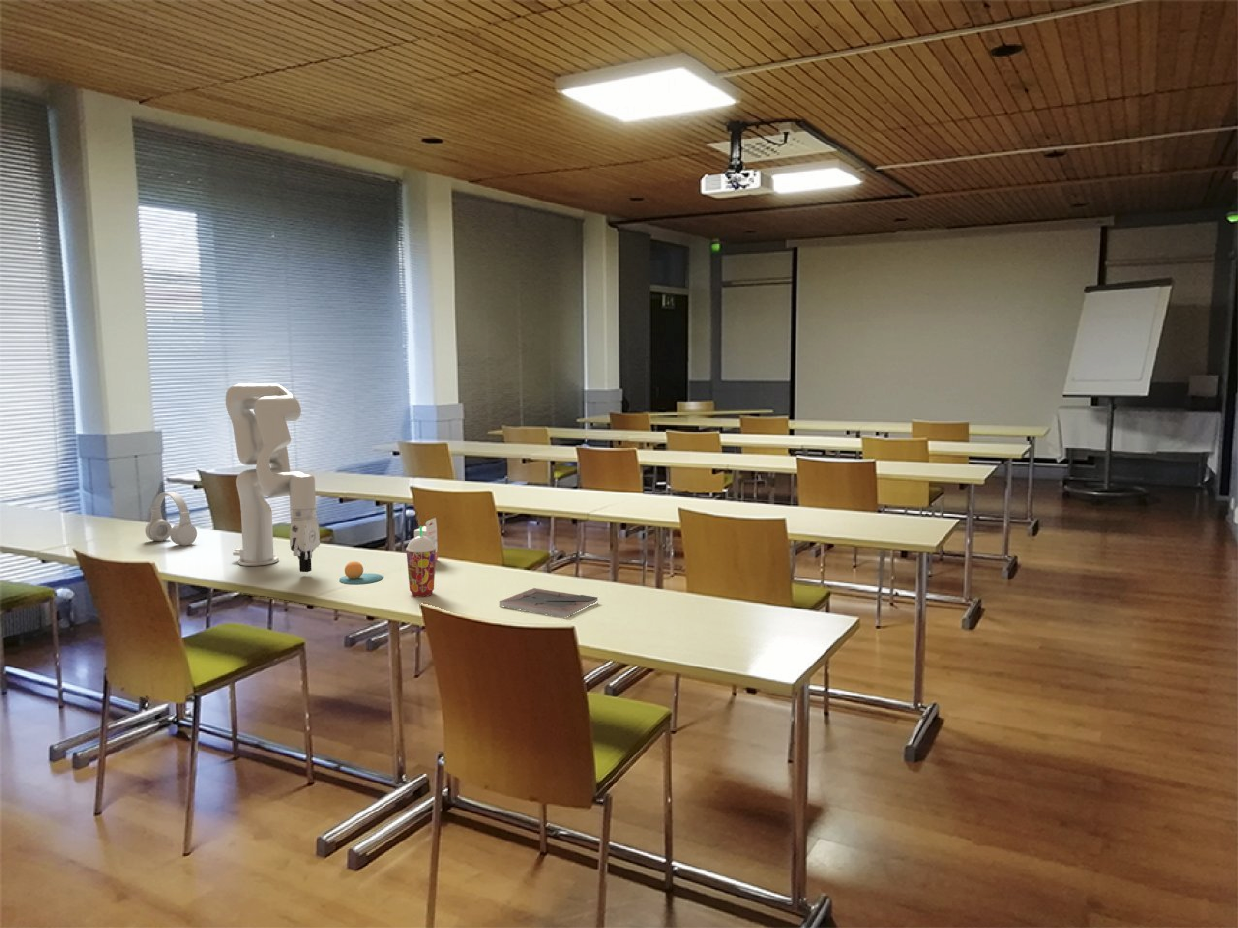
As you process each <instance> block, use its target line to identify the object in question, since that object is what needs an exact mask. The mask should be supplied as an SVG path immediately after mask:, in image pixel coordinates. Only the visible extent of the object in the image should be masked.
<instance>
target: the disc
mask: <svg viewBox="0 0 1238 928" xmlns="http://www.w3.org/2000/svg"><path fill="white" fill-rule="evenodd" d="M383 578H384V576H383V575H382V574H378V573H370V572H369V573H367V572H366V573H364V572H363V573H362V575H361V576H360V577H359V578H357V579H350V578H348V577H347V576H346V575H345V576H342V577H341V578H339V580H338V581H339V582H340V583H342V584H345V585H366V584H367V585H368V584H372V583H376V582H380V581H381V580H383Z"/></svg>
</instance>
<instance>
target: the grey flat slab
mask: <svg viewBox="0 0 1238 928" xmlns="http://www.w3.org/2000/svg"><path fill="white" fill-rule="evenodd" d="M596 601H598V596H596V597H595V596H590V595H586V594H585V595H584V594H575V593H568V592H567V593H566V592H560V591H553V590H547V589H542V588H535V587H533V588H531V589H528V590H526V591H523V592H520V593H517V594H515V595H513V596H510V597H507V598H504V599H502V600H499V607H500V606H504V607H509V608H508V609H510V608H515V609H521V610H526V611H525V612H527V611H531V612H530V613H533V612H535V613H534V614H539V613H540V615H545V614H547V615H546V616H551V615H552V617H556V616H558V617H559V618H562V617H567V616H569V615H571V614H573V613H575V612H577V611H579V610H581V609H583V608H585V607H587V606H589V605H590V604H593V603H595V602H596ZM504 607H503V608H504ZM515 609H514V610H515ZM521 610H520V611H521ZM571 616H572V615H571ZM569 617H570V616H569ZM567 618H568V617H567Z"/></svg>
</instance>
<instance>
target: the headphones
mask: <svg viewBox="0 0 1238 928" xmlns="http://www.w3.org/2000/svg"><path fill="white" fill-rule="evenodd" d="M166 496H169V497H171V499H172V500H173V501H174V502H175V504H176V507H177V509H178V514H179V515H178V516H179V523H176V524H175V525H174V526H173V527H172V525H171V523H170V522H168V520H165V519H163V517H162V516H163V515H162V507H161V506H162V504H163V501H164V499H165V497H166ZM150 513H151V514H150V520H149V522H148V523H147V525H146V527H145V535H146V537H147V538H148V539H149V540H151V541H154V542H163V540H164V541H166V540H167V539H168V538H170V539H171V541H172V543H175V545H179V546H182V547H185V546H187V545H188V546H190V545H192V544H194V542H195V541H196V539H197V536H198V532H197V531H198V530H197V528H196V526H194V525H193V523H192V522H191V518H190V515H191V512H190V511H189V509H188V506H187V504H186V501H185V500H184V498H183V496H181V494H179V493H178V492H176V491H165V492H161V493H159V494H157V495H156V496H155V498H154V499H153V503H152V506H151V508H150Z"/></svg>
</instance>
